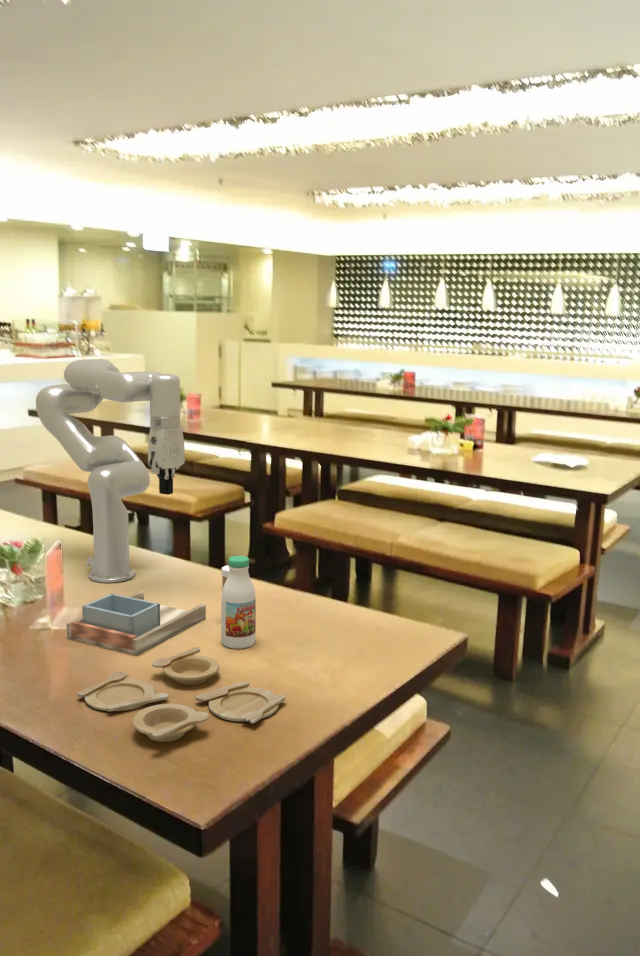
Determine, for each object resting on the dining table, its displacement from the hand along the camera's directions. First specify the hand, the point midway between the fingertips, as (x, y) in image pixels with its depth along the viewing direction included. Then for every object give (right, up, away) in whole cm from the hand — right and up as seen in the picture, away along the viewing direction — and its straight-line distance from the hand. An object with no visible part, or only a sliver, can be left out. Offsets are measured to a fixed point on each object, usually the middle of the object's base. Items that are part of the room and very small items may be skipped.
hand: (166, 493), depth 214 cm
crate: (-6, -31, -24) cm, 40 cm away
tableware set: (+13, -40, -55) cm, 69 cm away
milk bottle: (+21, -34, -26) cm, 48 cm away
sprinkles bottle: (+18, -31, -13) cm, 38 cm away
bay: (-3, -31, -19) cm, 37 cm away
